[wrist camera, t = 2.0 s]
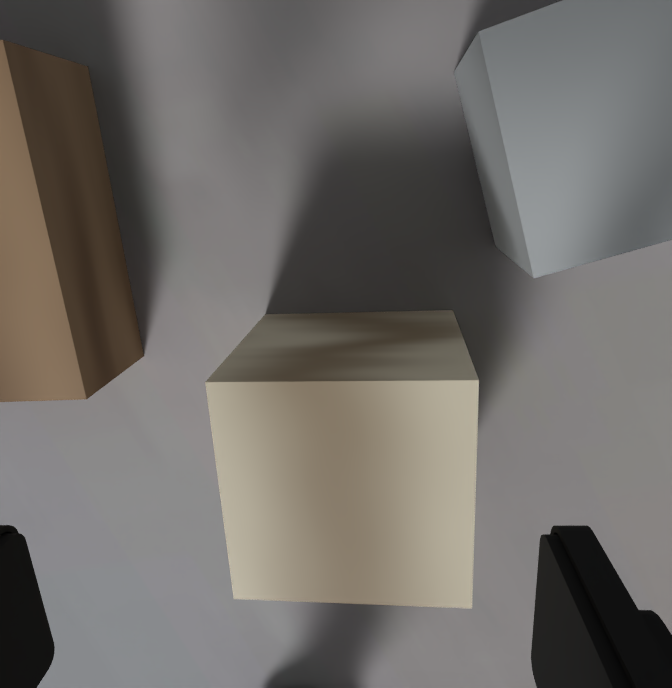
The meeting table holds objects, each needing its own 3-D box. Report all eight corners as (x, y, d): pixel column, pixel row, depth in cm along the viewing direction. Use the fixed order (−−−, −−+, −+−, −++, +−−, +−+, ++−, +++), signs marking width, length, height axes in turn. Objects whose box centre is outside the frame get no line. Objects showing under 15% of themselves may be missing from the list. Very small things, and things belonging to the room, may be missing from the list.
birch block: (452, 309, 17) (479, 380, 12) (450, 477, 19) (472, 608, 14) (265, 313, 18) (205, 382, 12) (280, 474, 20) (233, 598, 14)
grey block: (643, 4, 14) (764, -75, 10) (671, 194, 16) (789, 206, 11) (453, 72, 15) (478, 31, 11) (495, 246, 17) (533, 278, 12)
